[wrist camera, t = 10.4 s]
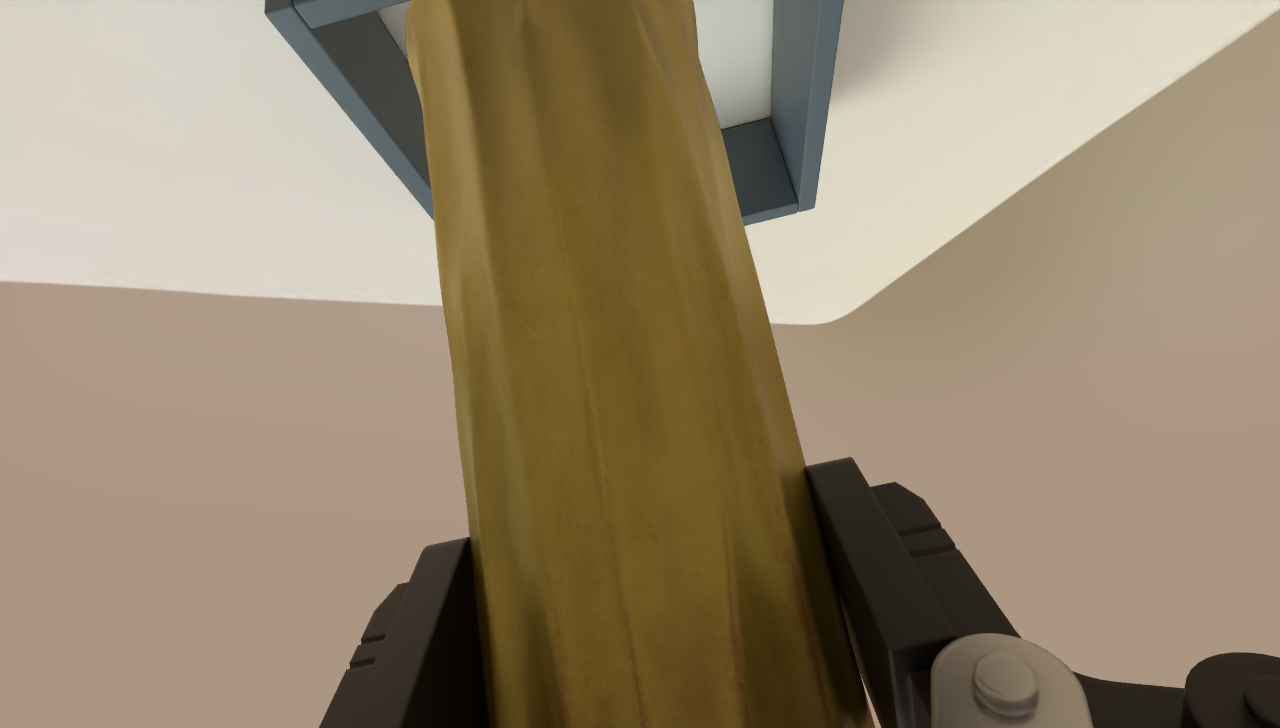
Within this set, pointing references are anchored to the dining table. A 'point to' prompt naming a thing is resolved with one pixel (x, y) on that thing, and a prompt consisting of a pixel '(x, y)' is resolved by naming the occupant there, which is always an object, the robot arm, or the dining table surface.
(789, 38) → the tub
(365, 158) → the dining table surface
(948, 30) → the dining table surface
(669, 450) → the vase
